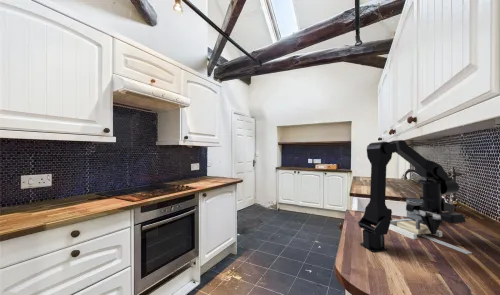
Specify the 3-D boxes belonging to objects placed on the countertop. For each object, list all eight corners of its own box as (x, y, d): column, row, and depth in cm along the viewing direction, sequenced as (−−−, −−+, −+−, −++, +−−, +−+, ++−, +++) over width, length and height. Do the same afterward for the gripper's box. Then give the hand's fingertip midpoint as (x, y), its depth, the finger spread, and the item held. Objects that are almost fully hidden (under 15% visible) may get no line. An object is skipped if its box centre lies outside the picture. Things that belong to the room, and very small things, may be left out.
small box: (435, 224, 101) (434, 202, 101) (422, 224, 101) (421, 202, 101) (418, 217, 111) (417, 198, 112) (406, 217, 111) (405, 198, 112)
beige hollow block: (418, 237, 84) (417, 219, 85) (397, 229, 94) (396, 213, 95) (434, 236, 86) (433, 218, 86) (412, 227, 96) (411, 212, 96)
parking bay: (452, 256, 70) (452, 247, 70) (384, 227, 98) (384, 220, 98) (485, 251, 72) (485, 243, 72) (409, 224, 100) (409, 218, 100)
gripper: (476, 198, 75) (479, 241, 74) (425, 190, 93) (427, 224, 93) (451, 200, 73) (453, 244, 73) (404, 191, 92) (405, 226, 91)
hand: (433, 233), depth 82 cm, fingers closed
